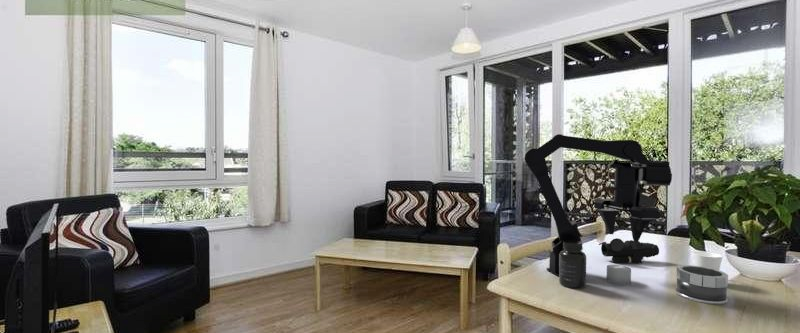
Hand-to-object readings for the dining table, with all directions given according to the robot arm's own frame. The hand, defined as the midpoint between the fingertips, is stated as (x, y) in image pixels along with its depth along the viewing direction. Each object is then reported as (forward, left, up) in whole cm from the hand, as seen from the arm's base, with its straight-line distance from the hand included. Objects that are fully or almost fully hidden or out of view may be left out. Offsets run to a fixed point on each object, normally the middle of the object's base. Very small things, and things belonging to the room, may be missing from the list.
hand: (623, 237), depth 109 cm
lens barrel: (+11, -15, -12) cm, 22 cm away
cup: (+24, -5, -12) cm, 27 cm away
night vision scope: (+16, +16, -12) cm, 26 cm away
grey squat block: (-2, -2, -12) cm, 12 cm away
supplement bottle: (-17, -3, -12) cm, 21 cm away
